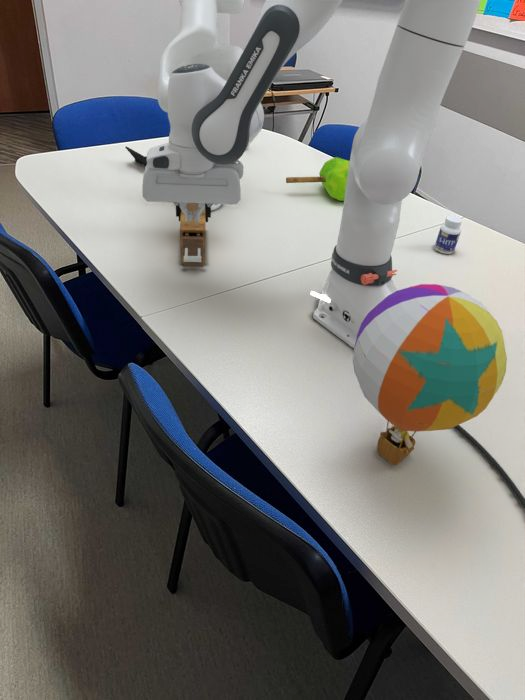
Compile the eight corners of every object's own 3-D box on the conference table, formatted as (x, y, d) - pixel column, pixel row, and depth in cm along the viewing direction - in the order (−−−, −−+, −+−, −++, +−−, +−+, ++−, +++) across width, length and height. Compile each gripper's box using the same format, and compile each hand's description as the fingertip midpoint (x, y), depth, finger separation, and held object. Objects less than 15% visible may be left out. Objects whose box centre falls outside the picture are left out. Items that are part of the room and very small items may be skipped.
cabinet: (205, 264, 125) (205, 229, 119) (180, 264, 124) (179, 229, 118) (205, 231, 138) (205, 198, 133) (182, 231, 138) (181, 198, 132)
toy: (305, 446, 82) (335, 284, 64) (382, 395, 93) (428, 243, 74) (404, 533, 71) (476, 369, 53) (479, 464, 82) (561, 307, 63)
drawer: (203, 279, 118) (203, 250, 113) (182, 278, 117) (181, 249, 113) (202, 235, 135) (202, 208, 130) (184, 234, 134) (184, 207, 130)
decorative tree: (281, 153, 162) (372, 152, 168) (279, 186, 169) (366, 184, 174) (295, 173, 149) (392, 171, 154) (292, 208, 155) (386, 205, 161)
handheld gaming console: (172, 161, 172) (154, 139, 164) (161, 179, 171) (142, 158, 163) (149, 157, 179) (131, 136, 170) (138, 174, 177) (119, 153, 169)
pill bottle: (433, 251, 139) (442, 220, 133) (435, 243, 143) (444, 213, 137) (453, 256, 138) (464, 225, 132) (454, 247, 142) (465, 217, 136)
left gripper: (229, 143, 124) (227, 214, 135) (155, 139, 122) (159, 212, 133) (230, 153, 118) (228, 227, 129) (153, 150, 116) (157, 225, 127)
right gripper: (243, 152, 107) (239, 216, 115) (141, 148, 104) (146, 213, 113) (245, 163, 102) (241, 228, 110) (138, 159, 99) (143, 226, 108)
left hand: (193, 218), depth 131 cm, fingers closed on cabinet, 5 cm apart
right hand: (192, 220), depth 112 cm, fingers closed
